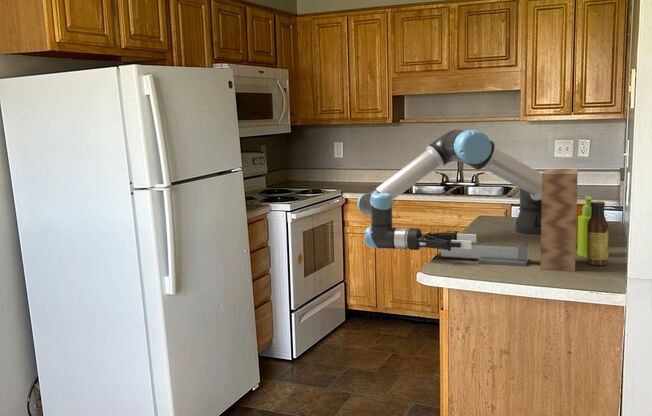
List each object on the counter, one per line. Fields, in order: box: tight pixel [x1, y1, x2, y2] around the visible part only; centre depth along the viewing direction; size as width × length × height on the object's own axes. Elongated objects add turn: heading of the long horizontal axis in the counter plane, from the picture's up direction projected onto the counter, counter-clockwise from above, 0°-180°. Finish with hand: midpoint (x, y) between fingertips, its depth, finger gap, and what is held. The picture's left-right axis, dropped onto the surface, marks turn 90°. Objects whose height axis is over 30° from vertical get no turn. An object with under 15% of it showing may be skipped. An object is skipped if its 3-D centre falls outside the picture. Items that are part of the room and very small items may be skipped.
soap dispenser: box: [576, 195, 593, 258], centre depth 202 cm, size 6×7×20 cm
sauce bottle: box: [586, 200, 610, 266], centre depth 191 cm, size 6×6×20 cm
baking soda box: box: [576, 199, 594, 248], centre depth 218 cm, size 10×6×16 cm
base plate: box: [477, 258, 528, 267], centre depth 200 cm, size 15×9×1 cm, turn 67°
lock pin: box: [440, 242, 530, 263], centre depth 202 cm, size 28×5×5 cm, turn 67°
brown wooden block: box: [539, 168, 579, 272], centre depth 192 cm, size 10×14×30 cm
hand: (473, 241), depth 203 cm, fingers open, 9 cm apart
